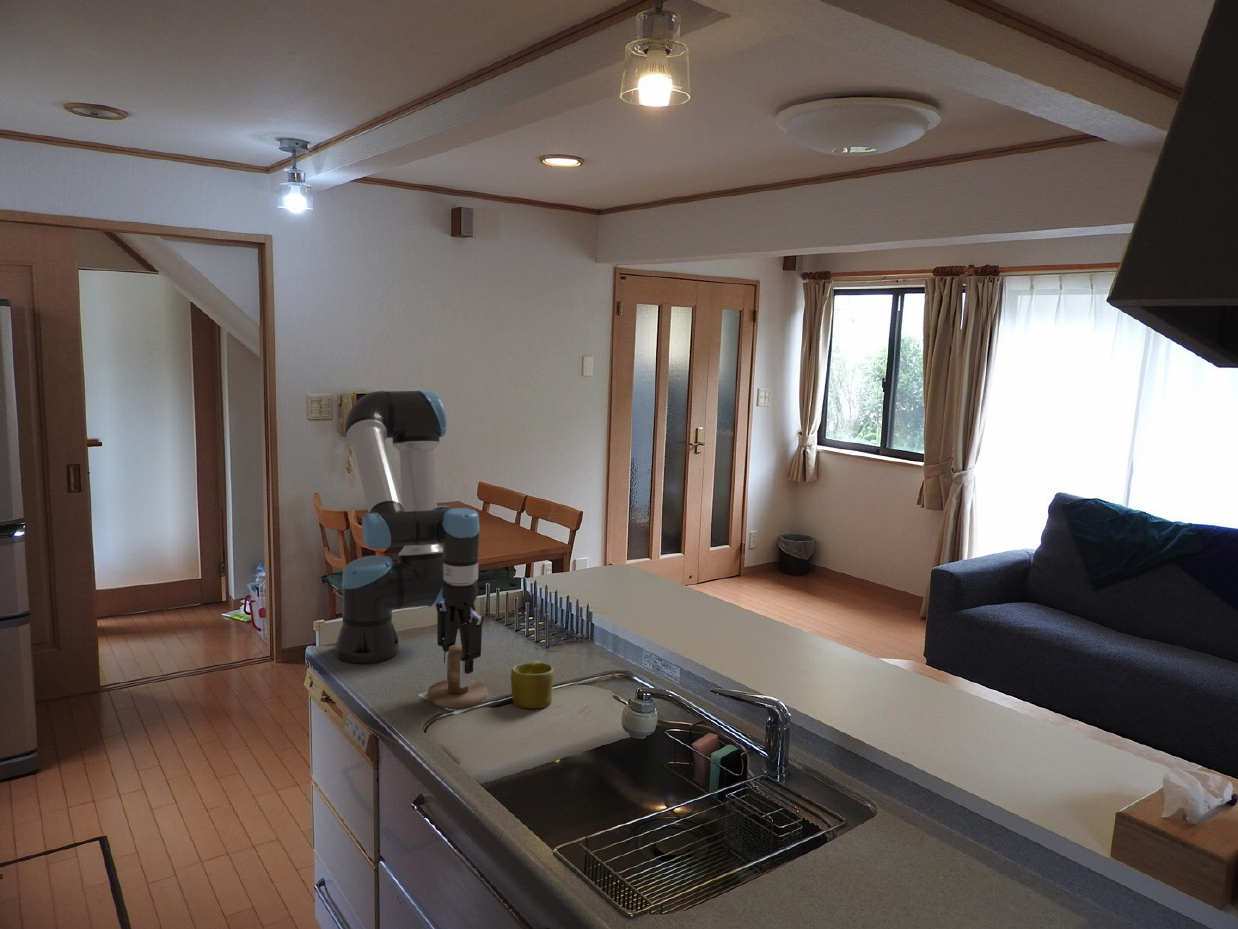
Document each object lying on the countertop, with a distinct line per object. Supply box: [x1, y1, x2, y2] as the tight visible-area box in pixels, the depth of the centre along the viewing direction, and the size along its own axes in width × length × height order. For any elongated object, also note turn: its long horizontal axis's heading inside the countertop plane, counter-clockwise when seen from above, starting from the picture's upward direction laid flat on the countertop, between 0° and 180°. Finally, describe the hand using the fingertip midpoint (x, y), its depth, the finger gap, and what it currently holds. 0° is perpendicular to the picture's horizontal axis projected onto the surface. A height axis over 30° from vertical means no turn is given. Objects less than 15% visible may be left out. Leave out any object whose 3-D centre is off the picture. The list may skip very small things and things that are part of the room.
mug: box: [510, 660, 555, 710], centre depth 193 cm, size 12×10×10 cm
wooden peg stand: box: [427, 643, 489, 709], centre depth 192 cm, size 13×13×11 cm
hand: (458, 682), depth 192 cm, fingers closed on wooden peg stand, 4 cm apart
